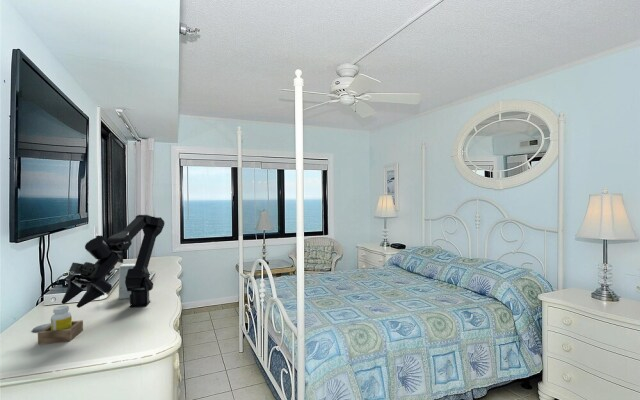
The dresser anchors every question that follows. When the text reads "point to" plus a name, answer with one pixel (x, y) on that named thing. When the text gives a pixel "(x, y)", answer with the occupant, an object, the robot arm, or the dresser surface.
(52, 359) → the dresser surface
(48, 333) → the wooden tray
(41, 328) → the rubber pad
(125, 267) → the skincare box
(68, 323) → the supplement bottle
